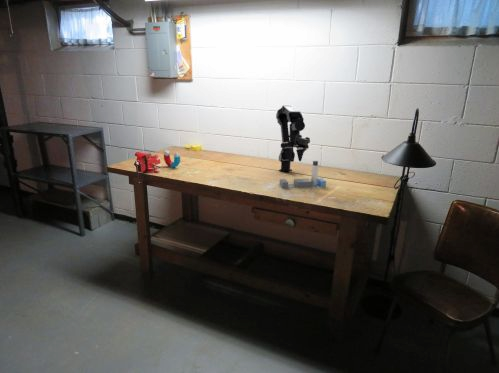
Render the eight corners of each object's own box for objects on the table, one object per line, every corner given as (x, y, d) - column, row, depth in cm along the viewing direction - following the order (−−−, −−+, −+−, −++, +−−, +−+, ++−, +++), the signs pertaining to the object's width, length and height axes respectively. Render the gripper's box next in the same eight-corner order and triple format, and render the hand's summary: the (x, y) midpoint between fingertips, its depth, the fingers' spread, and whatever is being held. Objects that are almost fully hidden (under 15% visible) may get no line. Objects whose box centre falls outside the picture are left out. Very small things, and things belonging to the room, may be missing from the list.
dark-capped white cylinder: (311, 183, 195) (312, 160, 191) (317, 184, 194) (318, 160, 190) (310, 185, 192) (312, 161, 188) (316, 185, 191) (318, 162, 187)
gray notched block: (279, 186, 193) (279, 179, 191) (321, 184, 197) (322, 178, 196) (282, 189, 187) (282, 182, 186) (325, 188, 191) (326, 181, 190)
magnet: (180, 168, 222) (180, 152, 218) (177, 169, 219) (176, 153, 216) (167, 165, 228) (166, 149, 225) (164, 166, 225) (163, 150, 222)
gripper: (296, 130, 188) (296, 159, 189) (316, 133, 202) (316, 160, 202) (279, 132, 196) (280, 160, 197) (300, 135, 210) (300, 161, 210)
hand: (295, 161), depth 201 cm, fingers open, 9 cm apart
